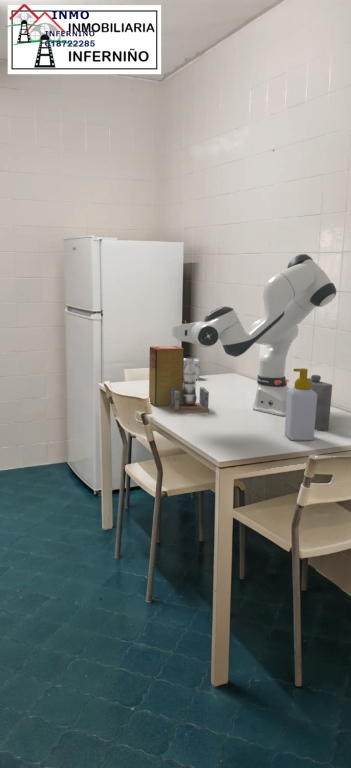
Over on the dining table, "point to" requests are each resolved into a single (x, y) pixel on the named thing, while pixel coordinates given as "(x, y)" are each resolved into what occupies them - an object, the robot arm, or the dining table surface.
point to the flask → (321, 402)
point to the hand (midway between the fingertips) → (195, 331)
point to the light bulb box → (197, 365)
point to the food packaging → (165, 374)
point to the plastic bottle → (189, 382)
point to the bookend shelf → (196, 407)
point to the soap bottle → (301, 409)
